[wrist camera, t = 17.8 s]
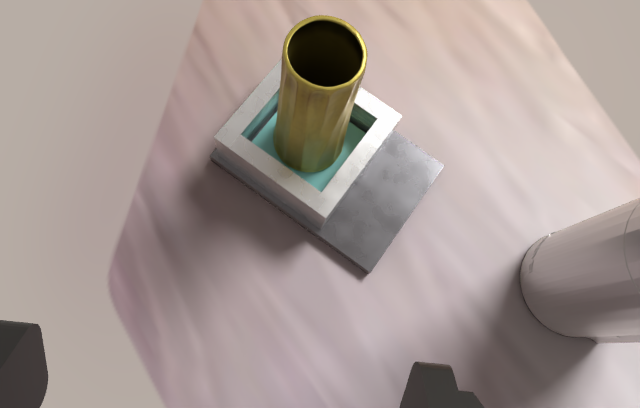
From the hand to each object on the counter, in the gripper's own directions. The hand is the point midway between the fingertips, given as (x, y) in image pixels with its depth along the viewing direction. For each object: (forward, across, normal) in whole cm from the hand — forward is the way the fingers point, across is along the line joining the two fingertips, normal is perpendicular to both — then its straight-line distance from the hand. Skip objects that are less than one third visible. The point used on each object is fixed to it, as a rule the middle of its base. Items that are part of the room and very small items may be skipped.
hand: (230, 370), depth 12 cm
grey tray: (+35, +4, -11) cm, 37 cm away
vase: (+35, +2, -9) cm, 36 cm away
